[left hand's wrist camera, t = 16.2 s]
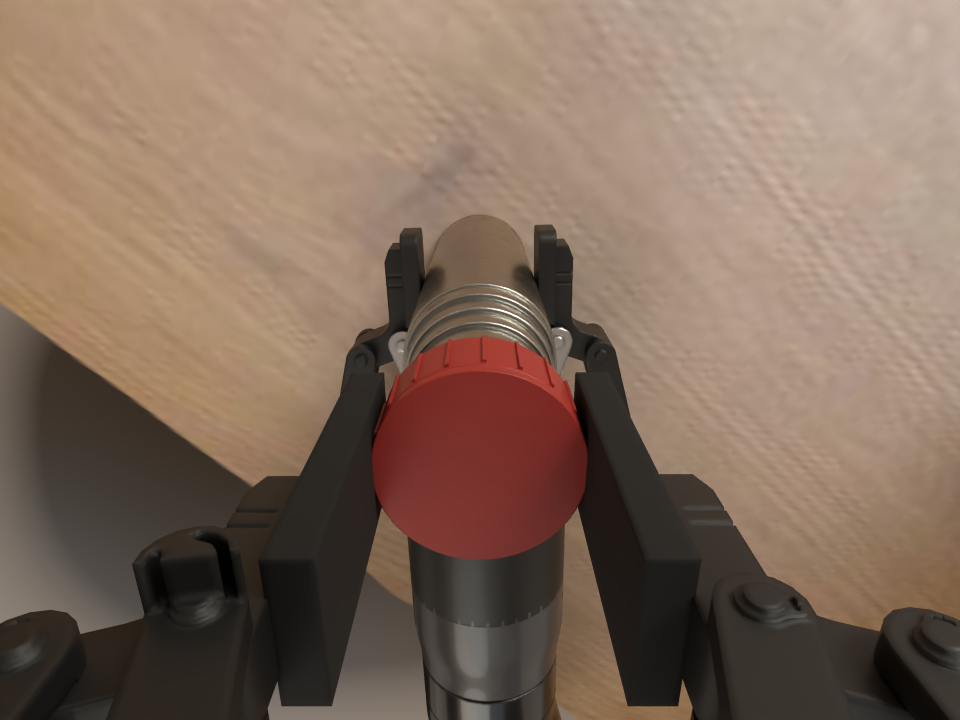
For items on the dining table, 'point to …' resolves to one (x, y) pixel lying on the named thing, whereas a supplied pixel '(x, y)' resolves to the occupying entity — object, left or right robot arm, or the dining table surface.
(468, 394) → the cap
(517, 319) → the bottle
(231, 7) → the dining table surface
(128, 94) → the dining table surface
